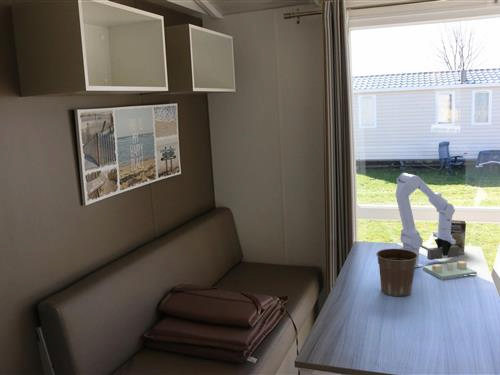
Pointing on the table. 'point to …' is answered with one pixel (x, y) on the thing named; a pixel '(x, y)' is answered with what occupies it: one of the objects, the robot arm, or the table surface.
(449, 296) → the table surface
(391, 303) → the table surface
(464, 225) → the coffee box
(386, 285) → the plant pot
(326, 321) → the table surface
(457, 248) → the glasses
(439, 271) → the stand
